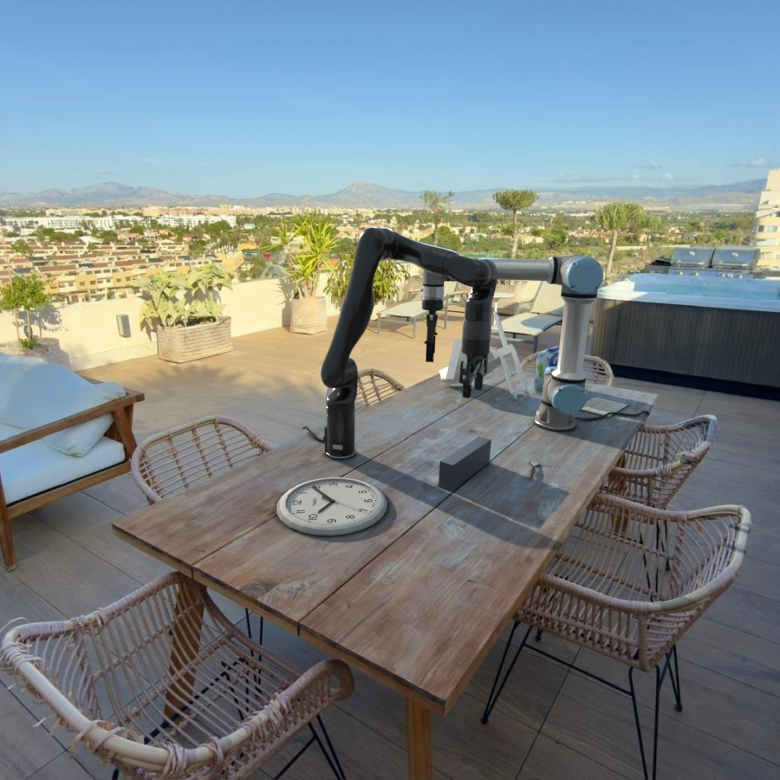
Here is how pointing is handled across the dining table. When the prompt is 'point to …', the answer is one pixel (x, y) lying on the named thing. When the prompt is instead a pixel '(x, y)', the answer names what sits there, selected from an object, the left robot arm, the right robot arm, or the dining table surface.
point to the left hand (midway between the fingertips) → (472, 393)
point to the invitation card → (602, 406)
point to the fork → (534, 465)
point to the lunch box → (544, 365)
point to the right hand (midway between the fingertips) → (430, 357)
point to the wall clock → (331, 506)
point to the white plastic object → (494, 360)
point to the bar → (464, 463)
